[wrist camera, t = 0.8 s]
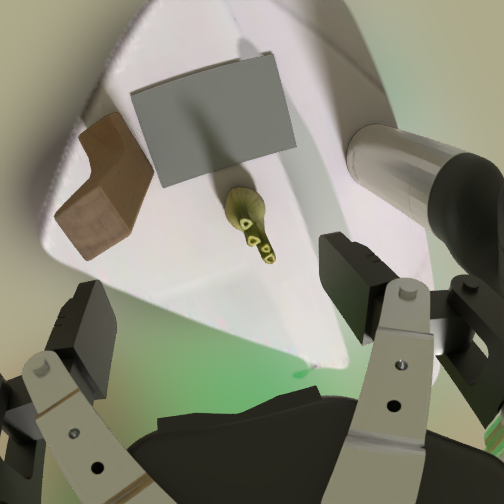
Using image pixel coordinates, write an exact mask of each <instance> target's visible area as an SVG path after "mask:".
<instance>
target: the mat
mask: <svg viewBox="0 0 504 504" xmlns="http://www.w3.org/2000/svg"><path fill="white" fill-rule="evenodd" d="M131 99H132V102H133V105H134V108H135V111H136V114H137V117H138V120H139V123H140V126H141V128H142V131H143V134H144V137H145V140H146V143H147V146H148V149H149V151H150V154H151V157H152V160H153V163H154V165H155V168H156V171H157V174H158V176H159V179H160V182H161V184H162V187H163V188H166V187H169V186H171V185H174V184H177V183H180V182H183V181H186V180H189V179H192V178H195V177H198V176H201V175H204V174H207V173H210V172H213V171H216V170H219V169H222V168H226V167H229V166H232V165H235V164H238V163H242V162H245V161H248V160H252V159H255V158H259V157H262V156H266V155H269V154H273V153H276V152H280V151H283V150H287V149H291V148H295V147H297V146H296V142H295V137H294V133H293V129H292V124H291V120H290V116H289V112H288V108H287V104H286V100H285V96H284V92H283V88H282V84H281V80H280V77H279V73H278V69H277V65H276V62H275V58H274V54H270V55H265V56H261V57H256V58H252V59H247V60H243V61H239V62H235V63H231V64H227V65H223V66H219V67H216V68H212V69H209V70H205V71H202V72H198V73H195V74H192V75H188V76H185V77H182V78H179V79H176V80H173V81H170V82H167V83H164V84H161V85H158V86H156V87H153V88H150V89H147V90H145V91H142V92H140V93H137V94H134V95H132V96H131Z"/></svg>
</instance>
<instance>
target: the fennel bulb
mask: <svg viewBox="0 0 504 504" xmlns="http://www.w3.org/2000/svg"><path fill="white" fill-rule="evenodd" d="M264 214H265V204H264V200H263V198H262V197H261V196H260V195H259V194H258V193H257V192H256V191H254V190H252V189H249V188H245V187H234V188H232V189H230V191H229V193H228V195H227V198H226V203H225V215H226V218H227V219H228V221H229V222H230V223H231V225H232V226H233V227H235V228H236V229H238V230H241V231H242V232H244V235H245V238H246V242H247V244H248V245H249V246H251V247H252V246H254V245H256V246H257V248H258V250H259V252H260V254H261V257H262V259H263V260H264V261H265V263H268V264H273V263H274V262H275V260H276V257H275V253H274V251H273V249H272V247H271V244H270V242H269V240H268V238H267V236H266V233H265V227H264Z"/></svg>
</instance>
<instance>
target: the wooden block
mask: <svg viewBox="0 0 504 504" xmlns="http://www.w3.org/2000/svg"><path fill="white" fill-rule="evenodd" d="M78 138H79V141H80V143H81V144H82V146H83V148H84V150H85V152H86V154H87V156H88V158H89V162H90V166H91V175H90V178H89V179H88V180H87V181H86V182H85V183H84V184H83V185H82V186H81V187H80V188H79V189H78V190H77V191H76V192H75V193H74V194H73V195H72V196H71V197H70V198H69V199H68V200H67V201H66V202H65V203H64V204H63V205H62V206H61V207H60V209H59V210H58V211H57V212H56V213H55V215H54V218H55V220H56V222H57V223H58V225H59V226H60V227H61V229H62V230H63V231H64V233H65V234H66V236H67V237H68V238H69V240H70V241H71V242H72V244H73V245H74V246H75V248H76V249H77V250H78V252H79V253H80V254H81V255H82V257H83V258H84V259H85V260H86V261H89V260H92V259H93V258H95V257H96V256H98V255H99V254H101V253H102V252H104V251H106V250H107V249H109V248H110V247H112V246H114V245H115V244H117V243H118V242H120V241H122V240H123V239H125V238H126V237H128V236H129V235H130V234H131V232H132V229H133V227H134V224H135V221H136V218H137V216H138V213H139V210H140V208H141V205H142V203H143V200H144V197H145V195H146V192H147V190H148V187H149V185H150V182H151V180H152V177H153V175H154V170H153V168H152V167H151V165H150V163H149V162H148V160H147V159H146V157H145V155H144V154H143V152H142V150H141V149H140V147H139V145H138V144H137V142H136V140H135V139H134V137H133V135H132V134H131V132H130V130H129V129H128V127H127V125H126V124H125V122H124V120H123V119H122V117H121V115H120V113H118V112H116V113H112V114H109V115H107V116H105V117H104V118H102V119H101V120H99V121H98V122H96V123H95V124H94V125H92V126H91V127H89V128H88V129H87V130H85V131H84V132H82V133H81V134H80V135H79V137H78Z"/></svg>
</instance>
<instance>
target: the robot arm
mask: <svg viewBox="0 0 504 504" xmlns="http://www.w3.org/2000/svg"><path fill="white" fill-rule="evenodd" d="M346 158H347V166H348V170H349V172H350V174H351V176H352V178H353V179H354V180H355V181H356V182H357V183H358V184H360V185H361V186H363V187H364V188H366V189H368V190H369V191H371V192H372V193H374V194H375V195H377V196H378V197H380V198H381V199H383V200H384V201H386V202H387V203H389V204H390V205H392V206H393V207H395V208H396V209H398V210H399V211H401V212H402V213H404V214H405V215H407V216H408V217H410V218H411V219H412V220H414V221H415V222H417V223H418V224H420V225H421V226H423V227H424V228H425V229H427V230H428V231H430V232H431V233H432V234H434V235H435V236H436V237H438V238H439V239H440V240H442V241H443V242H444V243H445V244H446V246H447V248H448V249H449V251H450V253H451V255H452V256H453V258H454V259H455V260H456V262H457V263H458V264H459V265H460V266H461V267H462V268H463V269H464V270H465V271H466V272H467V273H468V274H469V275H458V276H455V277H454V278H453V279H452V280H451V284H450V288H449V290H439V291H429V289H428V287H427V286H426V285H425V284H424V283H422V282H420V281H418V280H415V279H412V278H400V277H398V276H397V275H396V274H395V273H394V272H393V271H392V270H391V269H390V268H389V267H388V266H387V265H386V264H385V263H384V262H383V261H381V259H380V258H379V257H378V256H376V255H375V254H374V253H373V252H372V251H371V250H370V249H369V248H368V247H367V246H364V245H362V244H360V243H358V242H351V241H350V240H349V239H348V238H347V237H346V236H345V235H344V234H343V233H341V232H334V233H329V234H324V235H320V237H319V276H320V281H321V284H322V286H323V288H324V290H325V291H326V293H327V294H328V296H329V297H330V299H331V300H332V302H333V303H334V304H335V306H336V307H337V309H338V310H339V312H340V313H341V315H342V316H343V318H344V319H345V320H346V322H347V324H348V325H349V326H350V328H351V330H352V331H353V333H354V334H355V336H356V337H357V339H358V340H359V342H360V343H361V345H362V346H364V345H366V344H370V343H373V342H374V344H373V348H372V352H371V356H370V360H369V364H368V368H367V372H366V375H365V379H364V382H363V386H362V390H361V393H360V396H359V400H356V399H353V398H348V397H343V396H321V395H320V393H319V391H318V388H317V386H312V387H309V388H305V389H302V390H298V391H294V392H291V393H287V394H283V395H279V396H276V397H274V398H273V399H270V400H268V401H266V402H264V403H262V404H259V405H257V406H255V407H253V408H251V409H249V410H246V411H244V412H242V413H238V414H211V413H192V414H186V415H179V416H172V417H165V418H158V419H157V426H158V430H156V431H154V432H152V433H149V434H147V435H145V436H144V437H142V438H140V439H139V440H137V441H136V442H135V443H133V444H132V445H131V446H130V447H129V448H128V449H126V448H125V446H124V445H123V444H122V443H121V442H120V441H119V440H118V438H117V437H116V436H115V435H114V433H113V432H112V431H111V430H110V428H109V427H108V426H107V425H106V423H105V422H104V421H103V419H101V417H100V415H99V414H98V413H97V412H96V410H95V409H94V408H93V402H94V400H98V399H106V396H107V387H108V381H109V374H110V368H111V361H112V355H113V349H114V344H115V338H116V333H117V322H116V317H115V314H114V312H113V309H112V307H111V305H110V302H109V300H108V297H107V295H106V293H105V290H104V288H103V285H102V283H101V282H100V280H93V281H88V282H83V283H80V284H79V285H78V287H77V290H76V292H75V294H74V296H73V298H71V299H69V300H68V301H67V302H66V304H65V305H64V306H63V307H62V308H61V310H60V313H59V315H58V319H57V320H56V322H55V325H54V326H55V327H53V330H52V332H51V335H50V337H49V340H48V342H47V345H46V348H45V350H44V351H42V352H39V353H37V354H35V355H34V356H32V357H31V358H30V359H29V360H28V361H27V362H26V363H25V365H24V367H23V370H22V375H21V376H18V377H15V378H13V379H10V380H8V381H6V380H5V379H4V378H3V376H2V375H1V374H0V434H1V430H3V431H4V432H5V433H6V434H7V435H8V436H9V440H8V444H7V449H6V455H5V460H4V461H3V460H2V458H1V457H0V504H41V490H42V477H43V466H44V456H45V448H46V443H47V445H48V447H49V449H50V451H51V452H52V454H53V456H54V458H55V460H56V462H57V463H58V465H59V467H60V468H61V470H62V472H63V473H64V475H65V477H66V479H67V480H68V482H69V483H70V485H71V487H72V488H73V490H74V491H75V493H76V494H77V496H78V497H79V499H80V500H81V502H82V503H83V504H504V178H503V175H502V173H501V172H500V170H499V169H498V168H497V167H496V166H495V165H494V164H493V163H492V162H491V161H489V160H487V159H485V158H483V157H480V156H478V155H475V154H473V153H470V152H467V151H465V150H462V149H459V148H456V147H453V146H450V145H447V144H444V143H441V142H438V141H435V140H432V139H429V138H426V137H423V136H419V135H416V134H413V133H410V132H406V131H403V130H400V129H396V128H392V127H389V126H385V125H381V124H372V125H368V126H365V127H363V128H362V129H360V130H359V131H358V132H357V133H356V134H355V135H354V136H353V138H352V140H351V141H350V143H349V146H348V150H347V157H346ZM475 332H476V333H477V335H478V336H479V337H480V338H481V339H482V340H483V341H484V342H485V344H486V346H487V348H488V353H489V356H488V358H487V357H486V356H485V355H484V353H483V352H482V351H481V350H480V348H479V347H478V346H477V345H476V344H475V342H474V341H473V337H474V335H475ZM434 355H435V356H436V357H437V359H438V360H439V362H440V363H441V364H442V366H443V367H444V369H445V370H446V371H447V373H448V374H449V376H450V377H451V379H452V380H453V382H454V383H455V384H456V386H457V387H458V389H459V390H460V392H461V393H462V394H463V396H464V398H465V399H466V401H467V402H468V404H469V405H470V407H471V408H472V410H473V411H474V413H475V414H476V416H477V417H478V419H479V420H480V422H481V424H482V425H483V427H484V428H485V435H484V441H485V445H486V447H485V450H484V451H483V450H480V449H477V448H474V447H472V446H469V445H466V444H463V443H461V442H458V441H455V440H453V439H450V438H448V437H445V436H442V435H440V434H437V433H435V432H432V431H430V430H427V429H426V427H427V421H428V413H429V404H430V395H431V385H432V372H433V356H434Z"/></svg>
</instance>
